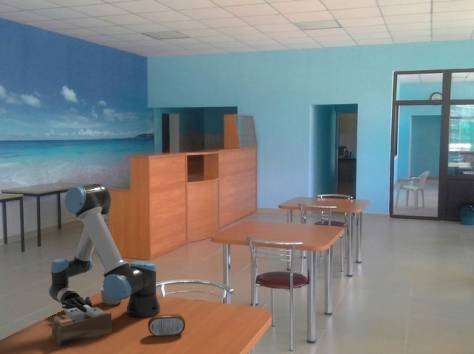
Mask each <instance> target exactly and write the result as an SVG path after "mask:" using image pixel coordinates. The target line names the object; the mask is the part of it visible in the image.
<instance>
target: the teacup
mask: <svg viewBox="0 0 474 354" xmlns="http://www.w3.org/2000/svg"><path fill="white" fill-rule="evenodd" d="M99 291H100V295H101V297H100V298H101V301H102V302H103V304H105V305H107V306H116V305H119V304H120V303H121V302H122V301H123V300H124V299H122V300H114V299H111V298H109V297H108V296H107V295H106V293H105V291H104V289H103V286H102V287H100V289H99Z"/></svg>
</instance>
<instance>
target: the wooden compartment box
mask: <svg viewBox="0 0 474 354" xmlns="http://www.w3.org/2000/svg"><path fill="white" fill-rule="evenodd" d="M70 319H71V318H70ZM72 320H73V319H72ZM112 330H113V329H112V313H107V312H105V315H101V316H97V317H93V318H92V317H91V316H89V315H88V314H86V313H84V320H81V321H77V322H76V321H74V320H73V323H69V324H65V325H61V326H60V325H59V324H57V323H56V322H55V321H54V320H53V321H51V339H52V340H53V341H54V342H56V343H57V344H58V345H59V346H61V347H64V346H65V347H66V346H69V345H73V344H75V343H80V342H84V341H87V340H90V339H94V338H98V337H102V336H106V335H109V334H112Z"/></svg>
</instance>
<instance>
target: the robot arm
mask: <svg viewBox="0 0 474 354" xmlns="http://www.w3.org/2000/svg"><path fill="white" fill-rule="evenodd" d="M111 204H112V196H111V192H110V191H109V189H108V188H107V187H106V186H105V185H103V184H100V183H92V184H84V185H76V186H73V187H71V188H69V189H68V190H67V191H66V193H65V196H64V207H65V209H66V211H68V212H69V214H73V215H75V217H76V219H77V220H78V221H80V222H82V224H83V225H84V227H83V230H82V232H81V236H80V239H79V242H78V246H77V248H76V251H75V254H74V258H73V260H68V259H66V258H56V259H53V260H52V261H51V266H50V267H51V268H50V273H51V285H50V287H49V289H48V295H49V297H51V298H52V299H53V300H54V301H56V302H58V303H59V304H61V309H64V310H68V309H72V308H77V309H79V310H81V311H82V312H84V314H87V309H91V308H93V302H92V301H91V300H90V297H89V296H86V297H85V298H84V297H82V296H80V294H79V293H78V292H76V291H75V290H73V289H72V288H70V287H69V281H70V278H72V277H75V276H79V275H81V274H85V273H87V272H90V271H91V270H92V269H93V267H94V265H93V263H94V262H93V260H92V254H93V252H94V249H95V251H96V254H97V256H98V258H99V260H100V262H101V264H102V266H103V268H104V271H103V277H104V279H103V281H102V283H103V284H102V287H103V289H104V291H105V293H106V295H107V296H108V297H109V298H111V299H114V300H122V299H123V300H127V299H128V301H127V306H126V314H127V315H129V316H130V317H134V318H149V317H153V316H155V315H159V314H160V313H161V305H160V302H159V299H158V297H157V266H156V264H155V263H153V262H151V261H150V262H149V261H141V260H140V261H138V260H136V261H132V262H130V263H129V262H128V261H125V260H124V259H123V257H122V255H121V253H120V250H119V249H118V247H117V245H116V242H115V240H114V238H113V236H112V234H111V232H110V230H109V227H108V225H107V223H106V222H105V216H106V215H108V214H109V211H110V209H111ZM123 300H122V301H123Z"/></svg>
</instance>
